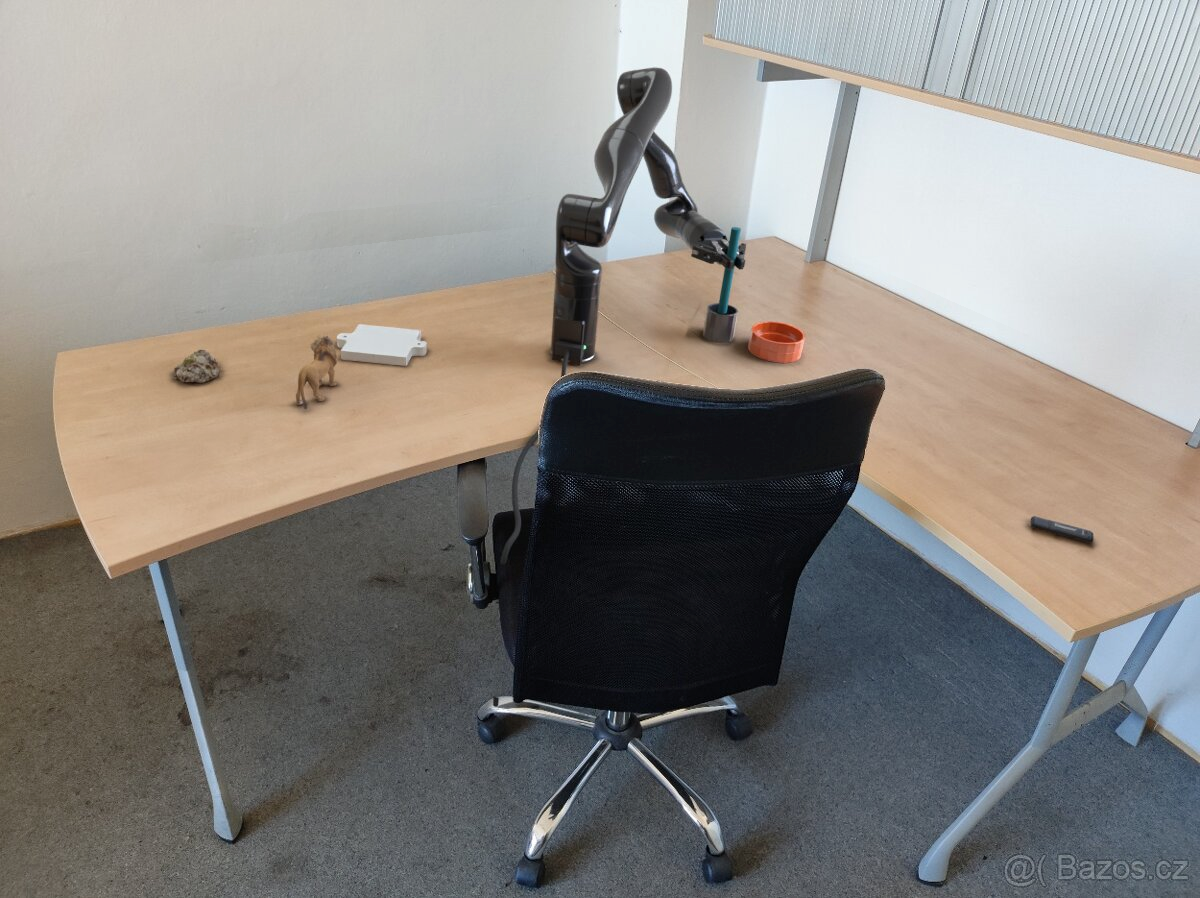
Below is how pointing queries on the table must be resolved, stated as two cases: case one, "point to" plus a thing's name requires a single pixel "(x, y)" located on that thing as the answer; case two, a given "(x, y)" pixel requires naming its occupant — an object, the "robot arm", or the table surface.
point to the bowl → (776, 341)
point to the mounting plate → (381, 345)
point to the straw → (729, 273)
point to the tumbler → (720, 324)
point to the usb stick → (1062, 529)
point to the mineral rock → (197, 368)
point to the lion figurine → (317, 368)
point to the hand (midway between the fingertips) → (736, 265)
